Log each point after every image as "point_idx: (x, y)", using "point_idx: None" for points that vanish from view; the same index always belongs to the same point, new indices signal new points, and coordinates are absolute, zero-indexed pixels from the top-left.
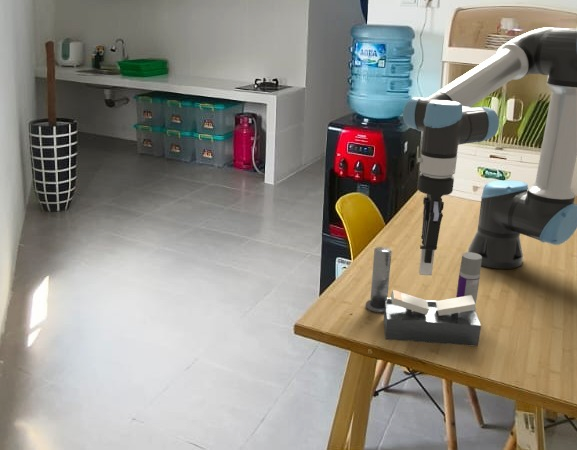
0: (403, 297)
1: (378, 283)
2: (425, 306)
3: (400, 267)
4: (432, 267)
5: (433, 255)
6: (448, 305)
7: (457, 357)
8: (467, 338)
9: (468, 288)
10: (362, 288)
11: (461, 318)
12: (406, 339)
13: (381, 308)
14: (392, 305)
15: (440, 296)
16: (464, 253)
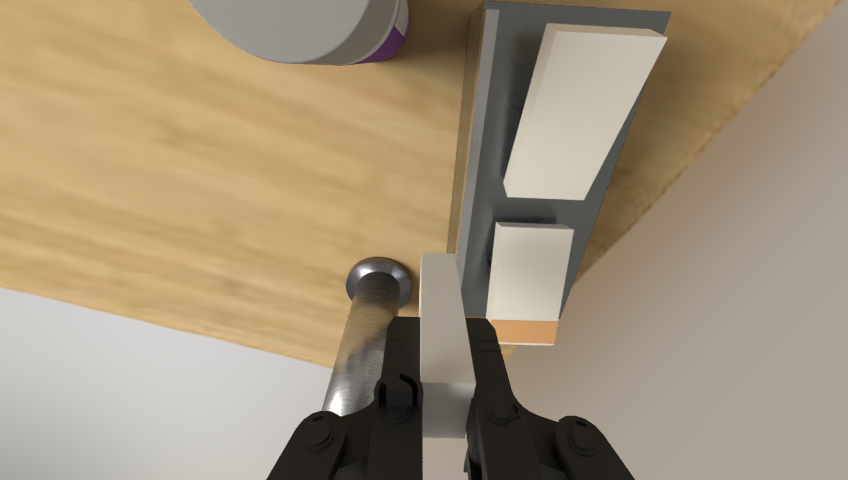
0: (526, 313)
1: None
2: (555, 240)
3: (57, 201)
4: (458, 281)
5: (467, 341)
6: (579, 161)
7: (662, 116)
8: None
9: (403, 10)
10: (275, 308)
11: None
12: None
13: (399, 284)
14: (479, 301)
15: (245, 91)
16: (226, 26)
